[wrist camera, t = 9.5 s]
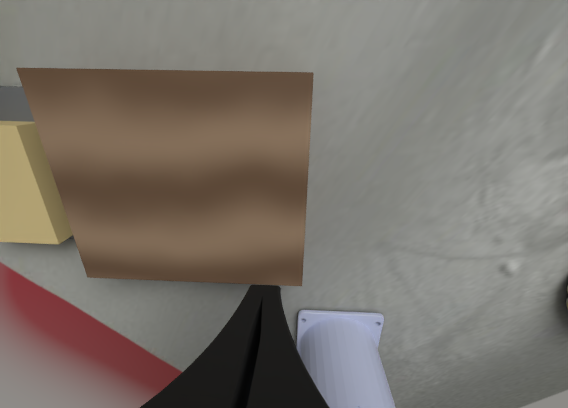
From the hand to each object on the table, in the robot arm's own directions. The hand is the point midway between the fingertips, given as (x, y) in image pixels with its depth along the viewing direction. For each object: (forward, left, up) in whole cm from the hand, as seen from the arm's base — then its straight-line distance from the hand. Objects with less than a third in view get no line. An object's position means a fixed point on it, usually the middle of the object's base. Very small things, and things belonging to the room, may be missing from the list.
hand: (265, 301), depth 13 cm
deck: (+3, +6, -10) cm, 12 cm away
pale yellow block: (+2, +20, -8) cm, 22 cm away
